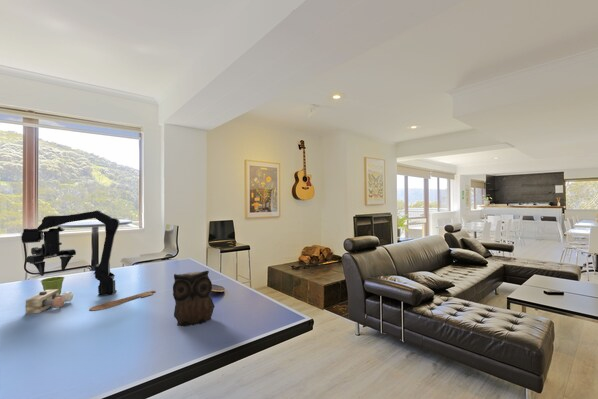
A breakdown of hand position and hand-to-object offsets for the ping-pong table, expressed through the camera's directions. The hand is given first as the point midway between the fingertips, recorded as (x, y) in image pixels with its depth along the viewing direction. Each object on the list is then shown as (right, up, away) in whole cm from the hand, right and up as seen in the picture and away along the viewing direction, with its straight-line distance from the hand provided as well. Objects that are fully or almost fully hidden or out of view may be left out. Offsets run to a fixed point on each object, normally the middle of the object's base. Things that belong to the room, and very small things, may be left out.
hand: (52, 273), depth 138 cm
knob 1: (+9, -13, -11) cm, 19 cm away
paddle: (+36, -14, -1) cm, 38 cm away
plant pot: (-6, -14, +7) cm, 17 cm away
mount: (+3, -13, -9) cm, 16 cm away
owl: (+78, -13, -24) cm, 82 cm away
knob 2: (+8, -13, -4) cm, 15 cm away
